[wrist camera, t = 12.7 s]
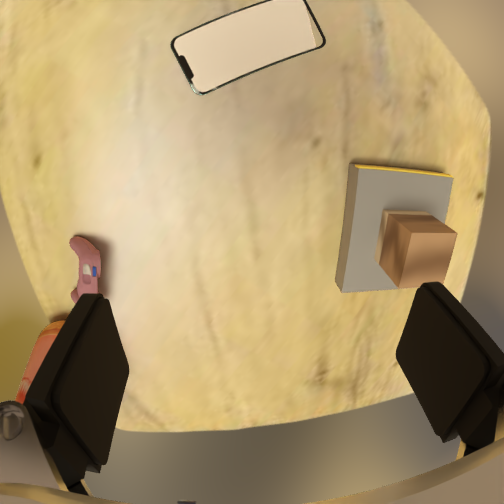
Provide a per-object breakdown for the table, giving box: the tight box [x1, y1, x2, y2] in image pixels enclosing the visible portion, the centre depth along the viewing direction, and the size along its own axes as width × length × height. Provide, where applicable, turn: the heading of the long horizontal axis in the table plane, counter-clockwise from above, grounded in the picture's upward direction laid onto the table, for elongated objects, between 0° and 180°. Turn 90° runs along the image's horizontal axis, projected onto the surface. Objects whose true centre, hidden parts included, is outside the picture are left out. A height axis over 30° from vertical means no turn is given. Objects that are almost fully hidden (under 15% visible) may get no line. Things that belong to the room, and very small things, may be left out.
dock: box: [335, 163, 453, 293], centre depth 38 cm, size 16×14×3 cm
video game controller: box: [69, 236, 101, 303], centre depth 37 cm, size 10×5×7 cm, turn 165°
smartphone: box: [171, 0, 326, 95], centre depth 28 cm, size 8×1×16 cm
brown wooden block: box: [374, 209, 457, 289], centre depth 33 cm, size 6×6×7 cm
